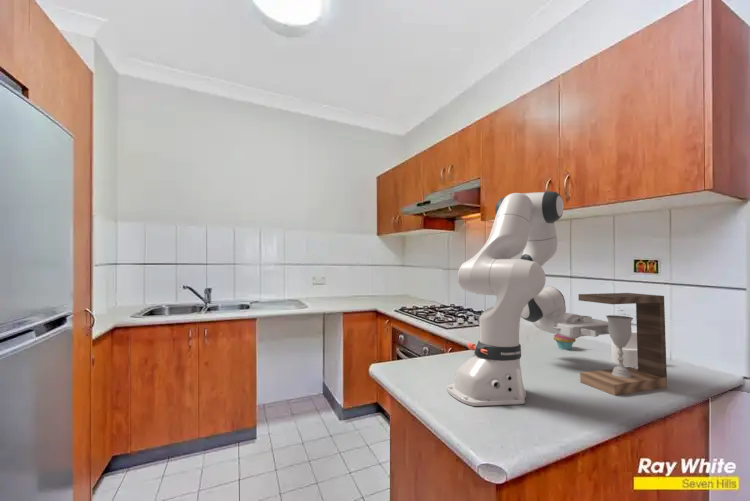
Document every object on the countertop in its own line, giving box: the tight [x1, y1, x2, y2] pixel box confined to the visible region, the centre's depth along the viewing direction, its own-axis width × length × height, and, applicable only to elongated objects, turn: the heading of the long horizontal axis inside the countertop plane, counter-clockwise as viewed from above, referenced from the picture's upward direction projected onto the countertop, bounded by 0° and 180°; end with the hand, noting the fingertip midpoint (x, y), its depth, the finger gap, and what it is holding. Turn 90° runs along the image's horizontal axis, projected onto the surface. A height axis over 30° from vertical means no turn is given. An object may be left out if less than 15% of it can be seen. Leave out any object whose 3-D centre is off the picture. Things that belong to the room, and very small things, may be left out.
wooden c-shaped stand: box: [578, 292, 668, 396], centre depth 103 cm, size 22×11×28 cm, turn 108°
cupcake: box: [553, 334, 576, 350], centre depth 148 cm, size 9×8×12 cm
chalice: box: [605, 314, 634, 378], centre depth 103 cm, size 7×7×18 cm
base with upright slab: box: [610, 330, 638, 368], centre depth 126 cm, size 9×9×12 cm
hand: (607, 333), depth 108 cm, fingers open, 8 cm apart
